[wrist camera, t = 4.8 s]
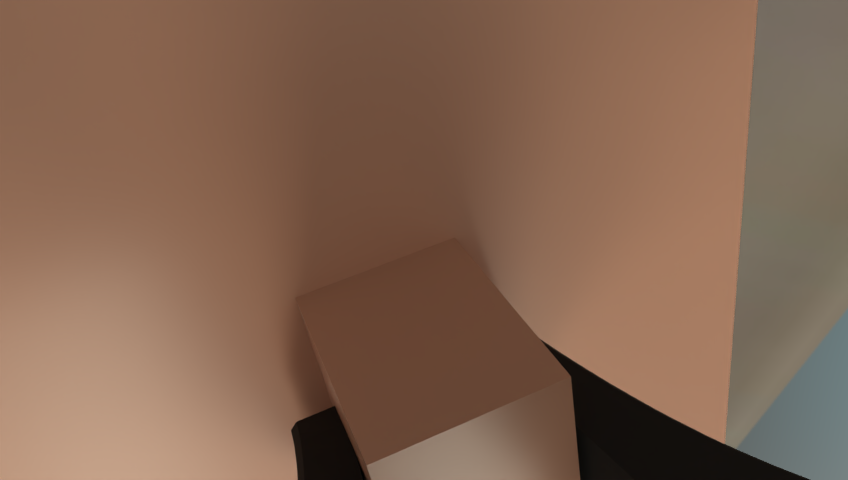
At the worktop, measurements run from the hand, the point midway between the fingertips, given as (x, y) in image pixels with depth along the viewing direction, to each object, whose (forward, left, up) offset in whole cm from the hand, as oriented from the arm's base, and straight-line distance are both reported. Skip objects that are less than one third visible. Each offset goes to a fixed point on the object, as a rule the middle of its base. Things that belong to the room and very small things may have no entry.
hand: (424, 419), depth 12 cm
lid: (0, 0, -2) cm, 2 cm away
